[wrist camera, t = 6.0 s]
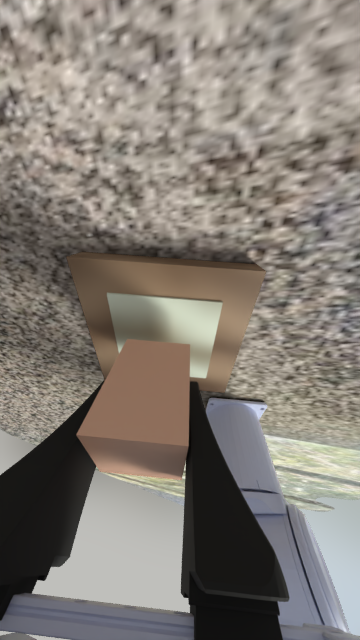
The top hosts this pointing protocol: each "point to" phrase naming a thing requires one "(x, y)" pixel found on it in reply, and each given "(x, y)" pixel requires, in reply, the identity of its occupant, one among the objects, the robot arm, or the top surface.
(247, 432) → the robot arm
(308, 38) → the top surface
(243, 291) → the plinth
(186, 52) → the top surface
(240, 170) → the top surface
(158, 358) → the terracotta block
